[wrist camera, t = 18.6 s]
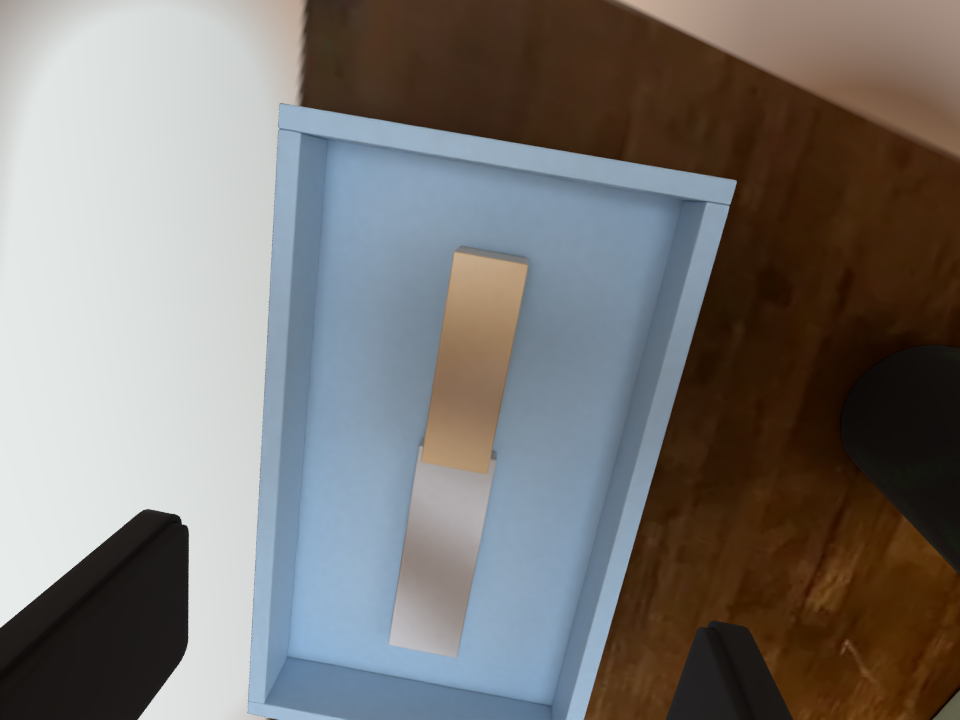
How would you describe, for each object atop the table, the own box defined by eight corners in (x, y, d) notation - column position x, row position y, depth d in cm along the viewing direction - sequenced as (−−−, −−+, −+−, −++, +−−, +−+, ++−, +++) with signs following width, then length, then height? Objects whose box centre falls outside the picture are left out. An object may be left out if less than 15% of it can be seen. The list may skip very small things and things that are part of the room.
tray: (318, 116, 20) (278, 102, 16) (702, 182, 19) (737, 180, 16) (279, 651, 26) (246, 714, 23) (562, 704, 26) (568, 775, 23)
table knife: (451, 243, 20) (444, 249, 18) (536, 258, 20) (538, 266, 18) (391, 633, 25) (380, 670, 23) (458, 646, 25) (453, 684, 23)
